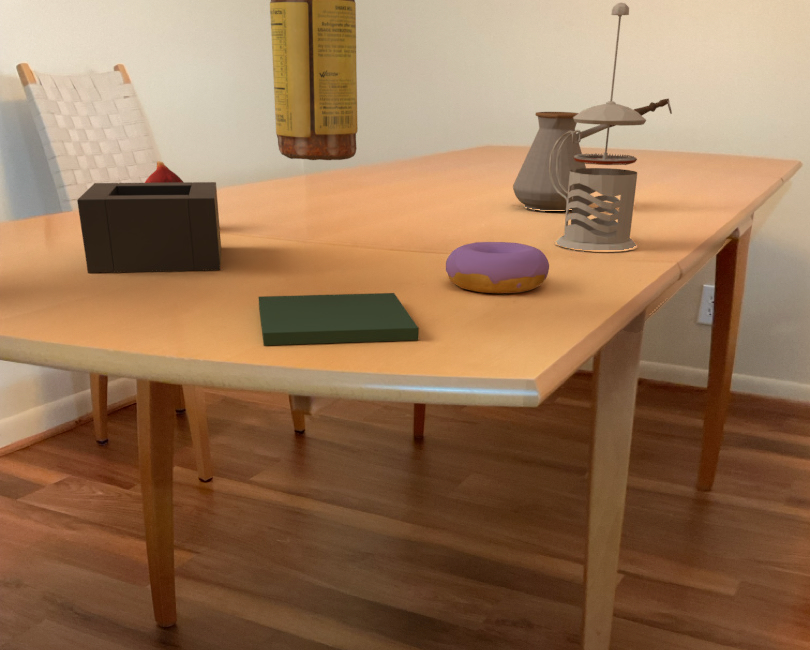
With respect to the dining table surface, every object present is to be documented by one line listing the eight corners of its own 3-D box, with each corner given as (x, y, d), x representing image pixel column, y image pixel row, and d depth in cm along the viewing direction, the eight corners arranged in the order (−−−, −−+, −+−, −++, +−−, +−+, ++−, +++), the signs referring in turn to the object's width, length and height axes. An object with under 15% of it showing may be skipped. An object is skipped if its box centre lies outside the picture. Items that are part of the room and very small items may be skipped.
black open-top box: (87, 273, 92) (76, 199, 89) (103, 249, 103) (94, 183, 100) (220, 270, 94) (214, 198, 91) (221, 246, 105) (216, 182, 102)
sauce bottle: (359, 156, 74) (367, -147, 65) (353, 164, 68) (360, -167, 59) (278, 152, 74) (274, -152, 65) (265, 159, 68) (259, -173, 59)
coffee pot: (508, 212, 131) (515, 96, 124) (514, 201, 141) (521, 93, 134) (661, 218, 128) (677, 100, 121) (655, 207, 138) (670, 97, 131)
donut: (532, 270, 94) (539, 223, 91) (556, 310, 87) (564, 261, 84) (436, 271, 92) (439, 224, 89) (452, 313, 85) (456, 263, 82)
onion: (195, 226, 118) (189, 159, 114) (189, 233, 113) (182, 164, 109) (149, 226, 117) (142, 158, 114) (141, 233, 112) (132, 163, 109)
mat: (263, 345, 70) (262, 332, 69) (259, 307, 80) (258, 296, 80) (418, 340, 71) (418, 327, 71) (394, 303, 82) (394, 292, 81)
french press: (615, 256, 103) (645, -2, 91) (526, 243, 109) (543, 1, 98) (651, 244, 110) (683, 3, 98) (565, 233, 116) (586, 5, 105)
